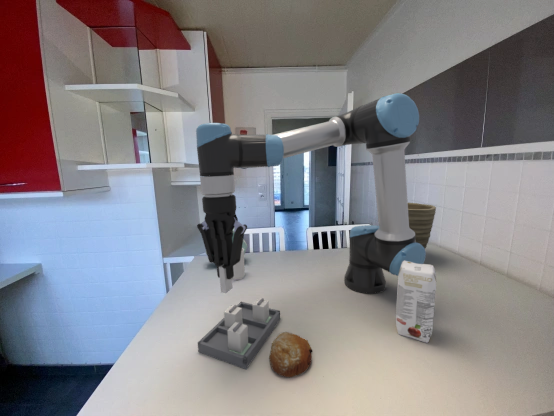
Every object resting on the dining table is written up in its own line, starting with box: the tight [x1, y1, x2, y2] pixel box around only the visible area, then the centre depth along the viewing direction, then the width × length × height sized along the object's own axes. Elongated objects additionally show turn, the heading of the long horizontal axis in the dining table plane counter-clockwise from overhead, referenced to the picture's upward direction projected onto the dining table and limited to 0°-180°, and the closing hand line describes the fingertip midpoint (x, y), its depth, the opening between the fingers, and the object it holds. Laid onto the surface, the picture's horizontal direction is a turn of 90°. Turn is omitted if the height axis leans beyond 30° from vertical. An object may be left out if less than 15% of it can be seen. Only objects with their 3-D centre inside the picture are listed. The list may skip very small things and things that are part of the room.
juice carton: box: [395, 260, 437, 344], centre depth 63 cm, size 8×9×19 cm
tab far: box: [251, 297, 270, 322], centre depth 69 cm, size 4×3×6 cm
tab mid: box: [223, 304, 243, 328], centre depth 66 cm, size 4×3×6 cm
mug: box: [232, 248, 246, 281], centre depth 100 cm, size 10×7×12 cm, turn 96°
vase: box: [408, 202, 437, 249], centre depth 113 cm, size 24×24×30 cm
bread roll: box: [268, 331, 313, 378], centre depth 56 cm, size 10×10×8 cm
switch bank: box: [197, 301, 281, 370], centre depth 65 cm, size 14×20×3 cm
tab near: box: [227, 322, 248, 353], centre depth 58 cm, size 4×3×6 cm
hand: (226, 290), depth 58 cm, fingers closed
